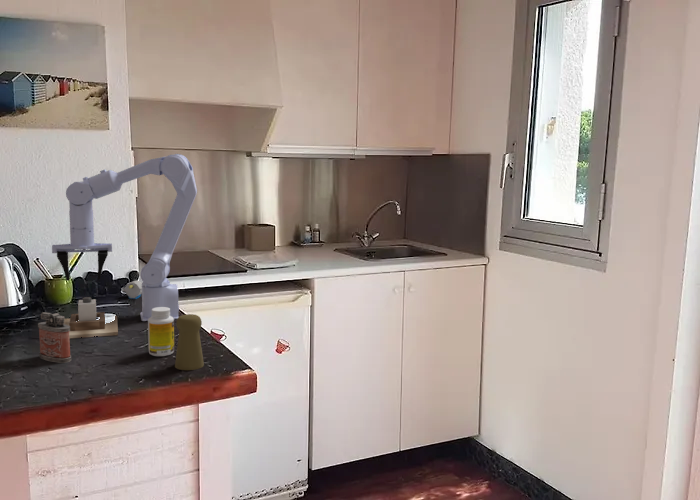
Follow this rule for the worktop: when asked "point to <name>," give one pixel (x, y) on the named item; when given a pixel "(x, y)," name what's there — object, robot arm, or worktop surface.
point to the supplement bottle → (161, 332)
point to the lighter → (54, 338)
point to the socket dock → (91, 326)
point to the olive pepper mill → (189, 343)
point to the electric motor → (133, 289)
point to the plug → (87, 309)
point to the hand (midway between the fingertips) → (83, 279)
